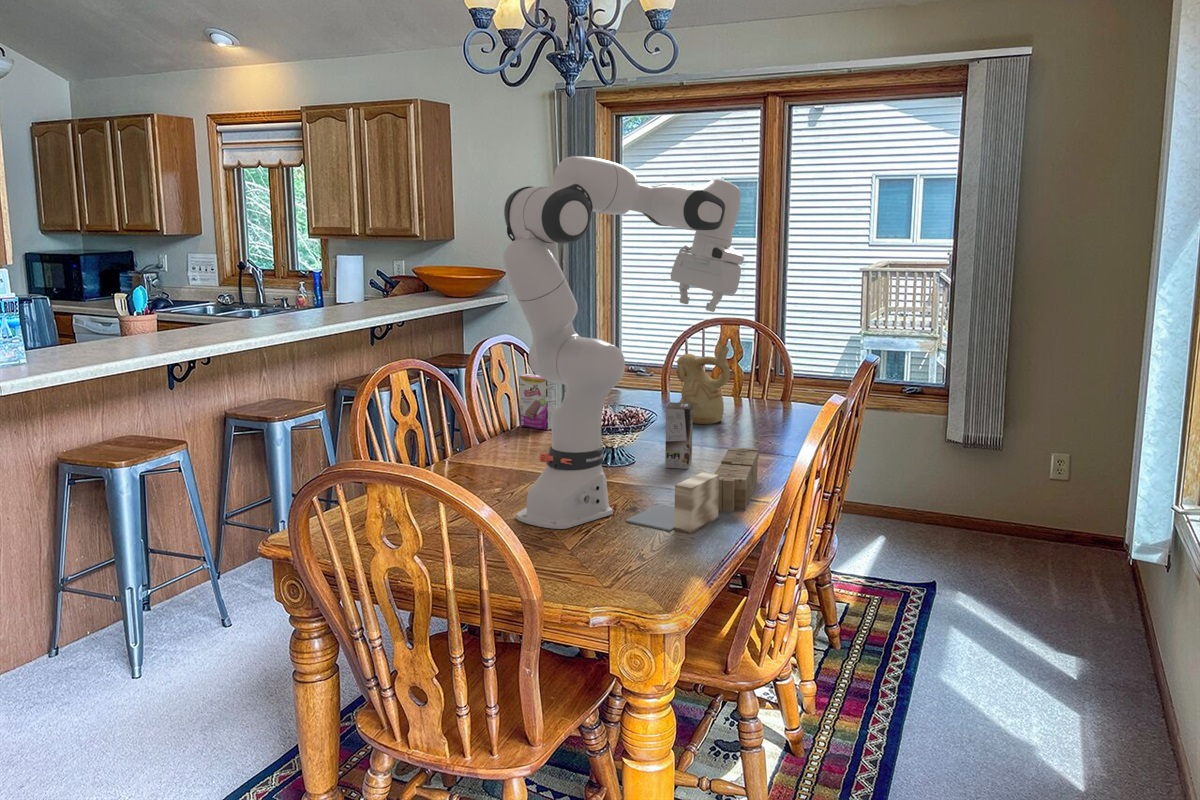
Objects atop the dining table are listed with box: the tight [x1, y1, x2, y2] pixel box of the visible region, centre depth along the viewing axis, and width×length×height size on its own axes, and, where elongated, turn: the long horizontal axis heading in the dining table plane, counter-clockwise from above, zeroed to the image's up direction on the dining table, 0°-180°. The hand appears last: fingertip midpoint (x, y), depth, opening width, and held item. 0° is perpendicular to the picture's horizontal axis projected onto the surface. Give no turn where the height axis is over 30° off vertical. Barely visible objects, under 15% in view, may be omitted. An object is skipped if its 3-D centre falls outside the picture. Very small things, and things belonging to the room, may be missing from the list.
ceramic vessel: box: [675, 345, 731, 425], centre depth 297 cm, size 17×20×25 cm
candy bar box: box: [518, 373, 557, 431], centre depth 289 cm, size 11×5×16 cm, turn 58°
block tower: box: [714, 447, 760, 513], centre depth 219 cm, size 8×8×29 cm
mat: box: [625, 503, 675, 532], centre depth 202 cm, size 14×11×1 cm
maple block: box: [673, 471, 719, 535], centre depth 197 cm, size 12×4×10 cm, turn 145°
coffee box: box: [664, 401, 693, 470], centre depth 245 cm, size 9×6×16 cm
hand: (696, 307), depth 221 cm, fingers open, 8 cm apart
